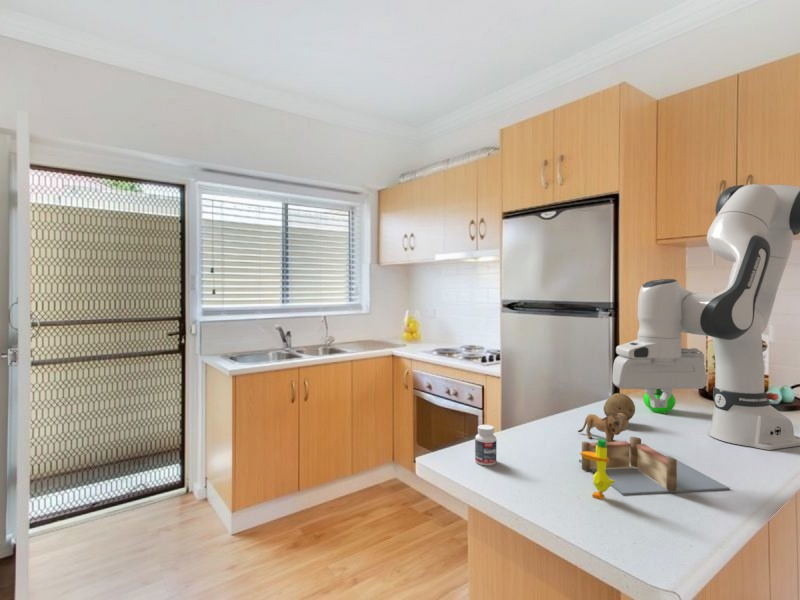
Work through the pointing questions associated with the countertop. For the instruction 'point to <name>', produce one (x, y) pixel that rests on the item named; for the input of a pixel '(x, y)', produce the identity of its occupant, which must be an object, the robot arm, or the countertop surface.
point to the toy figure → (599, 468)
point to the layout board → (641, 483)
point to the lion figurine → (606, 425)
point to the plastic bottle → (670, 401)
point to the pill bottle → (485, 445)
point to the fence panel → (657, 466)
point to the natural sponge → (619, 405)
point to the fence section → (613, 454)
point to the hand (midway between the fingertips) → (658, 407)
